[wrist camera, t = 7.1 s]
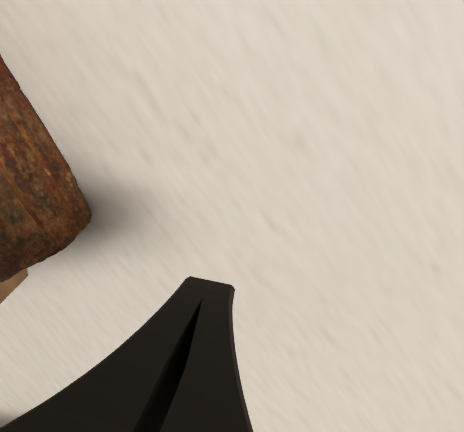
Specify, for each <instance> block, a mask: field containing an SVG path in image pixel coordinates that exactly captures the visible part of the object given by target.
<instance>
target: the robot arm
mask: <svg viewBox="0 0 464 432" xmlns="http://www.w3.org/2000/svg"><path fill="white" fill-rule="evenodd" d="M234 292H235V289H234V287H233V286H232V285H229V284H224V283H219V282H215V281H210V280H205V279H200V278H195V277H191V276H190V277H188V278H186V279H185V281H184V282H183V283H182V284H181V286H180V287H179V288H178V289H177V290H176V291H175V293H174V294H173V295H172V296H171V297H170V298H169V299H168V300H167V302H166V303H165V304H164V305H163V306H162V307H161V308H160V309H159V310H158V311H157V312H156V313H155V314H154V315H153V316H152V317H151V318H150V319H149V320H148V321H147V322H146V323H145V324H144V325H143V326H142V327H141V328H140V329H139V330H138V331H136V332H135V333H134V334H133V335H132V336H131V337H130V338H129V339H127V340H126V341H125V342H124V343H123V344H122V345H121V346H120V347H118V348H117V349H116V350H115V351H114V352H112V353H111V354H110V355H109V356H108V357H106V358H105V359H104V360H103V361H101V362H100V363H99V364H97V365H96V366H95V367H93V368H92V369H91V370H90V371H88V372H87V373H86V374H84V375H83V376H81V377H80V378H79V379H77V380H76V381H74V382H73V383H71V384H70V385H69V386H67V387H66V388H64V389H63V390H61V391H60V392H58V393H57V394H55V395H54V396H52V397H51V398H49V399H48V400H46V401H45V402H43V403H41V404H40V405H38V406H36V407H35V408H33V409H31V410H30V411H28V412H26V413H25V414H23V415H21V416H20V417H18V418H16V419H15V420H13V421H11V422H10V423H8V424H6V425H5V426H3V427H1V428H0V432H253V429H252V426H251V422H250V419H249V415H248V411H247V407H246V403H245V399H244V395H243V390H242V386H241V381H240V376H239V370H238V365H237V359H236V352H235V343H234V334H233V319H232V305H233V298H234Z"/></svg>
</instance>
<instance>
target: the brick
mask: <svg viewBox="0 0 464 432" xmlns="http://www.w3.org/2000/svg"><path fill="white" fill-rule="evenodd" d="M91 216H92V215H91V211H90V208H89V206H88V204H87V202H86V200H85V198H84V196H83V194H82V192H81V190H80V188H79V187H78V184H77V182H76V179H75V177H74V176H73V174H72V172H71V169H70V167H69V165H68V164H67V162H66V160H65V159H64V157H63V156H62V154H61V153H60V151H59V150H58V148H57V146H56V145H55V143H54V141H53V139H52V138H51V136H50V134H49V132H48V131H47V129H46V127H45V126H44V124H43V122H42V121H41V119H40V118H39V116H38V115H37V113H36V111H35V110H34V108H33V107H32V105H31V103H30V102H29V100H28V99H27V98H26V96H25V95H24V93H23V92H22V91H21V90H20V86H19V84H18V82H17V81H16V80H15V78H14V76H13V75H12V73H11V72H10V70H9V69H8V67H7V66H6V64H5V63H4V61H3V59H2V57H1V55H0V282H4V281H5V280H9V279H10V278H12V277H13V276H14V275H16V274H17V273H19V272H20V271H22V270H23V269H25V268H28V267H30V266H32V265H34V264H36V263H39V262H42V261H43V260H45V259H46V258H48V257H50V256H52V255H55V254H56V253H58V252H59V251H61V250H63V249H64V248H66V247H67V246H68V245H70V244H71V243H72V242H73V241H74V239H75V238H76V237H77V235H78V234H79V232H80V231H81V230H83V229H84V228H85V227H86V225H87V224H88V223H89V222H90V220H91Z"/></svg>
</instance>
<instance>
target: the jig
mask: <svg viewBox="0 0 464 432" xmlns="http://www.w3.org/2000/svg"><path fill="white" fill-rule="evenodd" d="M27 276H28V273H27V268H25V269H23V270H22V271H20V272H19V273H17V274H16V275H14V276H13V277H12V278H10V279H9V280H5V281H4V282H0V304H1V303H2V302H3V301H4V300H5V298H6V297H7V296H8V295H9V294H10V293H11V292H12V291H13V290H14V289H15V288H16V287H17V286H18V285H19V284H20V283H21V282H22V281H23V280H24V279H25V278H26V277H27Z"/></svg>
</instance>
